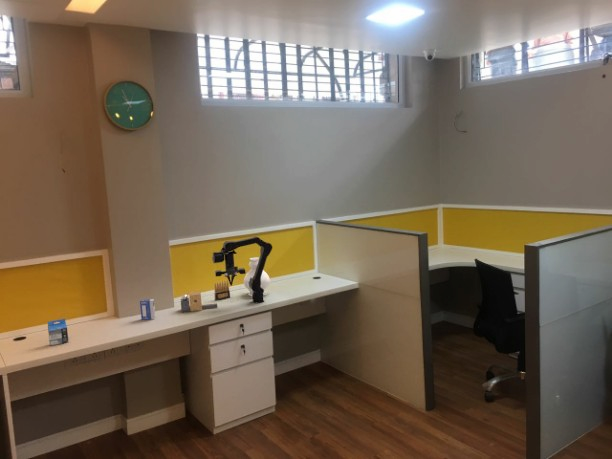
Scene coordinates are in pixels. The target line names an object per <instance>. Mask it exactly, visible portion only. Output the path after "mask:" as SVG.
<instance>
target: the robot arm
mask: <svg viewBox="0 0 612 459" xmlns="http://www.w3.org/2000/svg"><path fill="white" fill-rule="evenodd" d="M255 244H256V245H258V246H259V247H260V249H259V250H260V252H259V254H260V256H259V257H260V258H259V261H258V265H257V268H256V271H255V274H254V276H253V278H250V281H249V283H248V284H249V287H250V289H252V291H253V294H252V296H251V297H252V298H251V300H252V302H253V303H255V304H257V303H264V302H265V300H264V296H263V292H264V289H262V288H261V287H260V286H261V275H262V272H263V270H264V269H265V266H266V262H267V259H268V257H269V256H270V254H271V252H272V251H273V245H272V243H270V242H267V241H264V240H263V239H262V238H260V237H258V236H253V237H249V238H245V239H240V240H227V241H226V240H225V241H224V242H223V244H222V248H221V249H220V251H214V252H212V257H211V258H212V259H211V260H212V262H213V264H218V263H224V266H225V268H224V271H223V270H222V269H220V270H215V271H214V275H215V277H222V276H223V275H224V278H227V281H228V284H229V285H230V287H231V286H233V282H234V279H235V278H236V277H237V276H238V275H237V274H240V275H246V274H247V273H246V272H247V271H246V269H245V268H244V267H241V268H239V267H238V266H235V256H234V255H237V254H238V253H237V252H236V250H237V249H238V248H242V247H245V246H246V247H247V246H250V245H255Z"/></svg>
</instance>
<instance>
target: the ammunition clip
mask: <svg viewBox="0 0 612 459" xmlns="http://www.w3.org/2000/svg"><path fill="white" fill-rule="evenodd" d="M229 285H230V283H229V280H226V281H225V280H224V281H222V282H221V281H217V283H216V282H214V301H216V302H217V301H222V300H226V299H230V298H231V292H230V286H229Z"/></svg>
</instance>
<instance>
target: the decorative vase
mask: <svg viewBox="0 0 612 459" xmlns="http://www.w3.org/2000/svg"><path fill="white" fill-rule="evenodd" d="M259 258H260V256H255V257H250V258H249V262H248V267H250V269H249V270H248V271H247V273H246V274H245V276H244V279H243V285H244V286H245V288H246V289H247V290H248V291H249V293H248V294H247V295H248V296H250V297H252V294H253V291H252V289H250V287H249V284H248V283H249V281H250V278H253V276H254V274H255V271H256V268H257V265H258V261H259ZM270 283H271V278H270V276H269V275H268V273H267V272H266V271H265V270H264V269H263V272H262V275H261V286H260V287H261V288H262V289H264V292H263V297H264V296H266V295H267V291H266V290H267V289H268V287H269V285H270Z"/></svg>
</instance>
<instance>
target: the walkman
mask: <svg viewBox="0 0 612 459" xmlns="http://www.w3.org/2000/svg"><path fill="white" fill-rule="evenodd" d="M139 305H140V307H139V308H140V317H141V318H140V319H141V321H149V320H155V319H156V318H157V316H156V307H155V299H154V298H152V299H151V298H150V299H140V300H139Z"/></svg>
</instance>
